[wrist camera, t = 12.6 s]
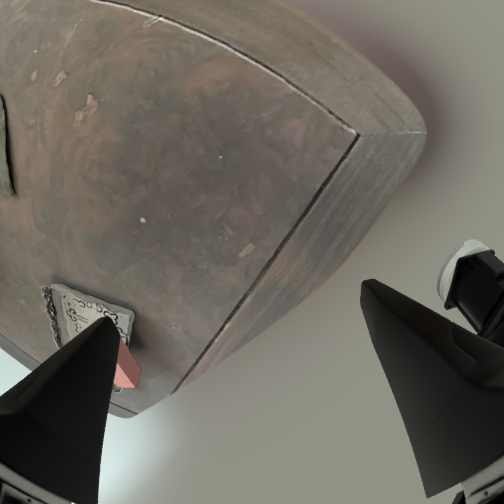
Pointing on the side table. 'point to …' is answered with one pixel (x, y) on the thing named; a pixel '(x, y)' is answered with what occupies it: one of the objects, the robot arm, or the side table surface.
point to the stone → (4, 156)
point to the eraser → (126, 368)
